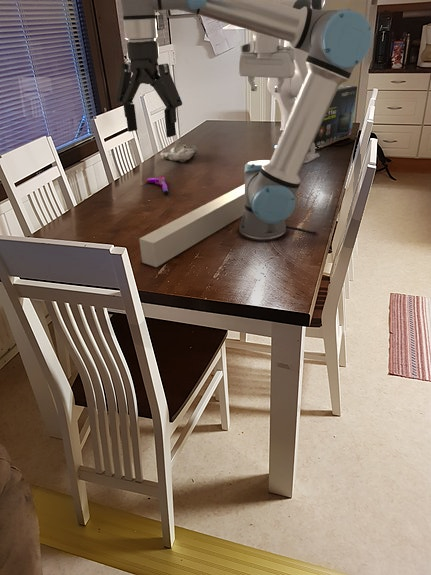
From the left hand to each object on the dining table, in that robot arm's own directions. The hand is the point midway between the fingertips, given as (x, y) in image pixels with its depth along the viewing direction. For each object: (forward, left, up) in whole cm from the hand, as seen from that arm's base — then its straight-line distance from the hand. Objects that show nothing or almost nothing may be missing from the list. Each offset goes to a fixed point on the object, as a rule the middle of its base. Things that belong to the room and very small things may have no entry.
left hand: (151, 133), depth 119 cm
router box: (-1, -147, -36) cm, 151 cm away
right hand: (-6, -57, +2) cm, 58 cm away
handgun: (+39, -51, -36) cm, 73 cm away
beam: (-3, -29, -36) cm, 46 cm away
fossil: (+57, -91, -36) cm, 113 cm away
